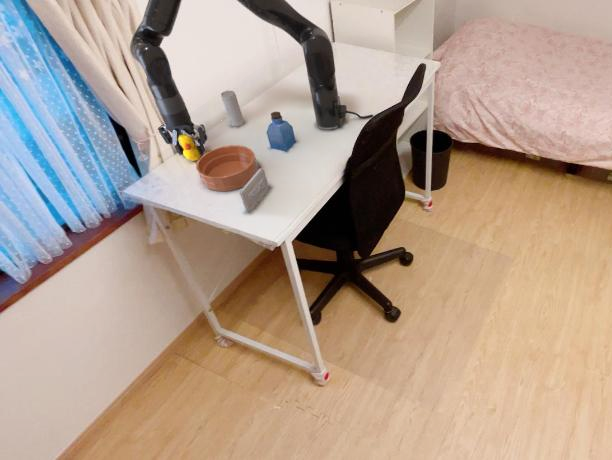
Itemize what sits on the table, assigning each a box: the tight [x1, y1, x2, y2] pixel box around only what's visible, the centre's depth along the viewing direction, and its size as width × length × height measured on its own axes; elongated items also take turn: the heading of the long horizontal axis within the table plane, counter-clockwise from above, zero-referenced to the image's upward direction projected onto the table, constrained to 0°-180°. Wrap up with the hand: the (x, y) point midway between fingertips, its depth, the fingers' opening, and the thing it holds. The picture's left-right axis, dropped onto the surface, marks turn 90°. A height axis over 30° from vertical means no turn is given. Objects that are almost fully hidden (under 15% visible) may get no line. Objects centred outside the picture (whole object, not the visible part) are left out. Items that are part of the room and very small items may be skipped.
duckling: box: [178, 134, 201, 162], centre depth 140 cm, size 11×5×10 cm, turn 25°
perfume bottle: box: [265, 111, 297, 152], centre depth 146 cm, size 6×6×12 cm
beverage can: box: [220, 90, 245, 128], centre depth 155 cm, size 5×5×12 cm
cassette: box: [239, 167, 270, 213], centre depth 126 cm, size 12×2×8 cm, turn 166°
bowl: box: [195, 144, 260, 192], centre depth 136 cm, size 17×17×6 cm
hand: (192, 153), depth 143 cm, fingers closed on duckling, 6 cm apart
